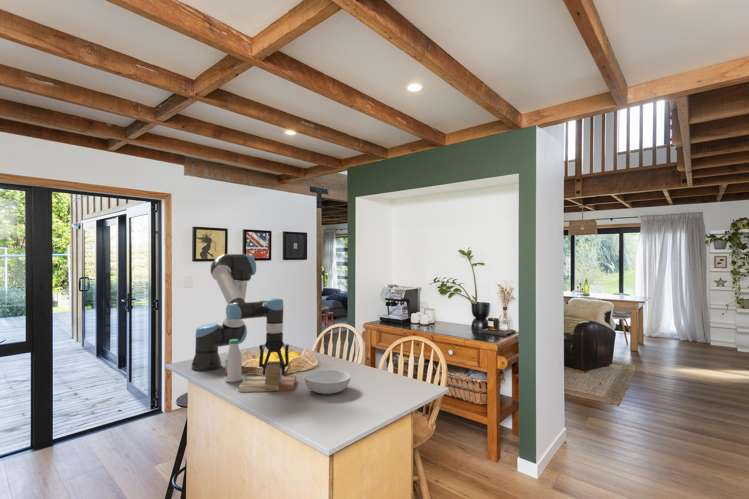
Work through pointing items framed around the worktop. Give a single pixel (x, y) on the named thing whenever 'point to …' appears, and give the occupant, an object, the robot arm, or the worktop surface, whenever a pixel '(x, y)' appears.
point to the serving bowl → (327, 381)
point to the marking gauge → (272, 375)
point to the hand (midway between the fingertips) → (273, 381)
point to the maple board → (259, 384)
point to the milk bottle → (233, 362)
